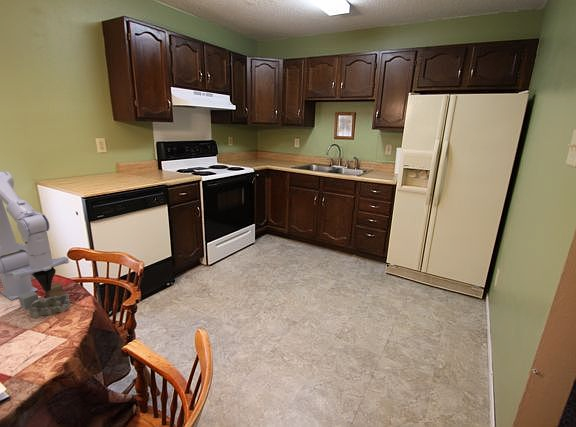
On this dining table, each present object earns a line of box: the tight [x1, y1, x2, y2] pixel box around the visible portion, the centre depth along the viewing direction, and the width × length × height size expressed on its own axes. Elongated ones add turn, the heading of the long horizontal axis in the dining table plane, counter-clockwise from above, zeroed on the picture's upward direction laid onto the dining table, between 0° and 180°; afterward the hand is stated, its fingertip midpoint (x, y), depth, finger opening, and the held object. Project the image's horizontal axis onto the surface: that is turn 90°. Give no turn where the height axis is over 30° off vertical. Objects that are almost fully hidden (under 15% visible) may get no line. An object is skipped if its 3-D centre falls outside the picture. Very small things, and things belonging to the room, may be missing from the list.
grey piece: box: [27, 292, 71, 319], centre depth 103 cm, size 11×8×4 cm
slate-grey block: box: [18, 291, 40, 310], centre depth 106 cm, size 4×4×4 cm
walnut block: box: [44, 281, 65, 298], centre depth 112 cm, size 4×4×4 cm
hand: (47, 290), depth 102 cm, fingers closed
